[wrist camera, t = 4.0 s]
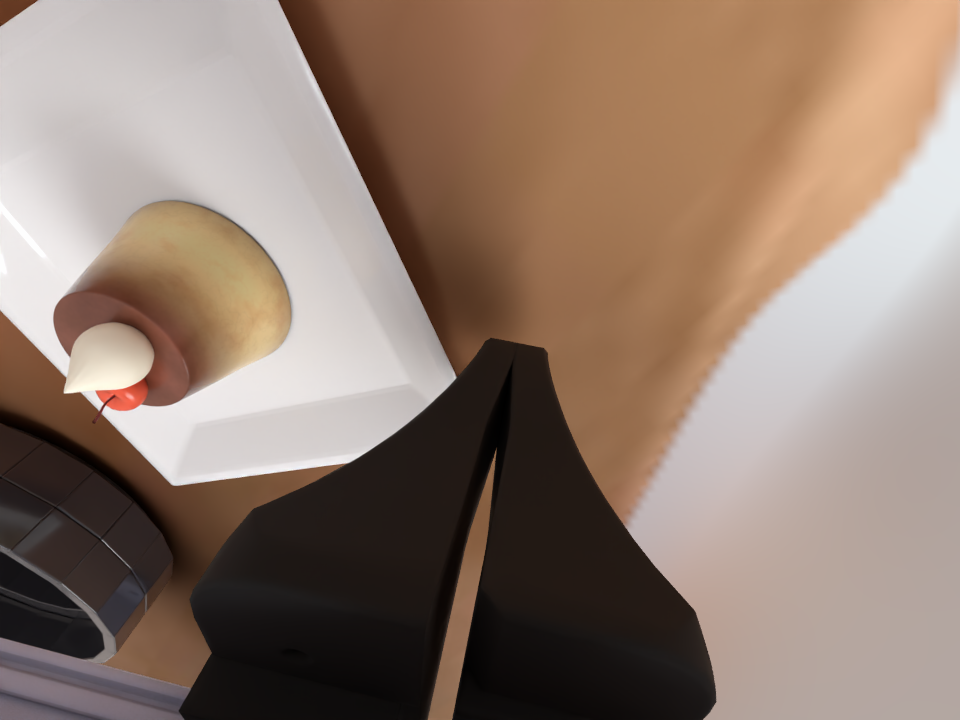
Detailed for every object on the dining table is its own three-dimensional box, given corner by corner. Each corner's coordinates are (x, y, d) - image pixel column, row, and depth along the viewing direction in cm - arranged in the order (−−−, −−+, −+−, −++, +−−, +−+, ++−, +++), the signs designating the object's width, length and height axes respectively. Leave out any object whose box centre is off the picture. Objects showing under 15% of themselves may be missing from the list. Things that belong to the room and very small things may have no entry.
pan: (207, 603, 26) (152, 689, 23) (-7, 550, 27) (-88, 625, 24) (131, 438, 18) (35, 531, 15) (-160, 373, 19) (-308, 448, 16)
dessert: (192, 463, 19) (89, 584, 15) (-113, 131, 12) (-423, 192, 9) (494, 417, 14) (459, 569, 11) (258, -114, 8) (-25, -200, 5)
